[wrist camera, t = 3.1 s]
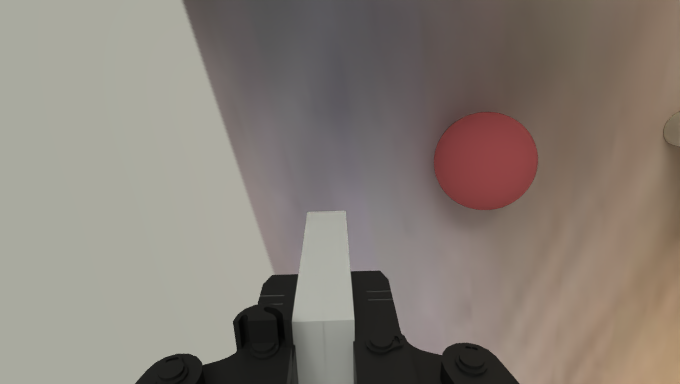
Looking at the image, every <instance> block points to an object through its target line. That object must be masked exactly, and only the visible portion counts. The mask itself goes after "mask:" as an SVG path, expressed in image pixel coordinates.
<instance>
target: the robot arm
mask: <svg viewBox="0 0 680 384" xmlns="http://www.w3.org/2000/svg"><path fill="white" fill-rule="evenodd" d="M233 325H234V332H235V339H236V345H237V352H236V353H235V354H233V355H231V356H230V357H228V358H225V359H222V360H220V361H216V362H213V363H209V364H205V365H202V362H201V361H200V360H199V359H198V358H197V357H196V356H193V355H191V354H175V355H172V356H168V357H165V358H163V359H162V360H160V361H158V362H156V363H155V364H154V365H152V366H151V367H150V368H149V369H148V370H147V371H146V372H145V373H144V374H143V375H142V376H141V378H140V379H139V380H138V381H137V382H136V383H135V384H519V383H518V381H517V380H516V379H515V378H514V377H513V376H512V374H511V373H510V372H509V371H508V370H507V369H506V367H505V366H504V365H503V364H502V363H501V362H500V360H499V359H498V358H497V357H496V356H495V355H494V354H492V353H491V352H490V351H489V350H487V349H485V348H483V347H481V346H479V345H475V344H470V343H456V344H454V345H451V346H449V347H447V348H446V350H445V351H444V352H443V354H442V355H438V354H434V353H429V352H425V351H422V350H419V349H417V348H415V347H413V346H412V345H411V344H409V343H408V342H407V340H406V338H405V336H403V335H402V334H401V331H400V327H399V323H398V319H397V314H396V310H395V306H394V302H393V298H392V293H391V289H390V285H389V281H388V279H387V278H386V277H385V276H384V274H383V273H382V272H381V271H352V272H351V271H350V259H349V247H348V234H347V222H346V211H321V212H307V218H306V225H305V232H304V239H303V246H302V253H301V260H300V267H299V274H292V275H272V276H271V277H270V278H269V279H268V280H267V281H266V282H265V283H264V284H263V287H262V290H261V294H260V297H259V301H258V305H254V306H252V307H249V308H246V309H244V310H243V311H242V312H240V313H239V314H238V315H237V316H236V318H235V319H234V321H233Z"/></svg>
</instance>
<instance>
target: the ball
mask: <svg viewBox="0 0 680 384" xmlns="http://www.w3.org/2000/svg"><path fill="white" fill-rule="evenodd" d="M537 165H538V154H537V149H536V145H535V143H534V140H533V138H532V136H531V135H530V133H529V132H528V131H527V129H526V128H525V127H524V126H523V125H522V124H520V123H519V122H518V121H516V120H515V119H513V118H511V117H509V116H506V115H504V114H500V113H495V112H480V113H474V114H471V115H468V116H466V117H463V118H461V119H460V120H458V121H456V122H455V123H454V124H452V125H451V126H450V127H449V128H448V129H447V130H446V131H445V133H444V134H443V135H442V137H441V139H440V140H439V142H438V145H437V147H436V151H435V156H434V168H435V174H436V177H437V180H438V182H439V184H440V186H441V187H442V189H443V190H444V191H445V193H446V194H447V195H448V196H449V197H450V198H452V199H453V200H454V201H456V202H457V203H459V204H461V205H463V206H466V207H469V208H472V209H478V210H491V209H497V208H501V207H504V206H506V205H509V204H510V203H512V202H514V201H515V200H517V199H518V198H519V197H521V196H522V195H523V194H524V193H525V192H526V190H527V189H528V188H529V186H530V185H531V183H532V181H533V180H534V177H535V175H536V171H537Z"/></svg>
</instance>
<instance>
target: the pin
mask: <svg viewBox="0 0 680 384" xmlns="http://www.w3.org/2000/svg"><path fill="white" fill-rule="evenodd" d="M663 133H664V138H665V140H666V141H667V142H668V143H670V144H672V145H675V146H678V147H680V112H678V113H676V114H674V115H673V116H672V117H671V118H670V119H669V120H668V121H667V123H666V125H665V127H664V132H663Z"/></svg>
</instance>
